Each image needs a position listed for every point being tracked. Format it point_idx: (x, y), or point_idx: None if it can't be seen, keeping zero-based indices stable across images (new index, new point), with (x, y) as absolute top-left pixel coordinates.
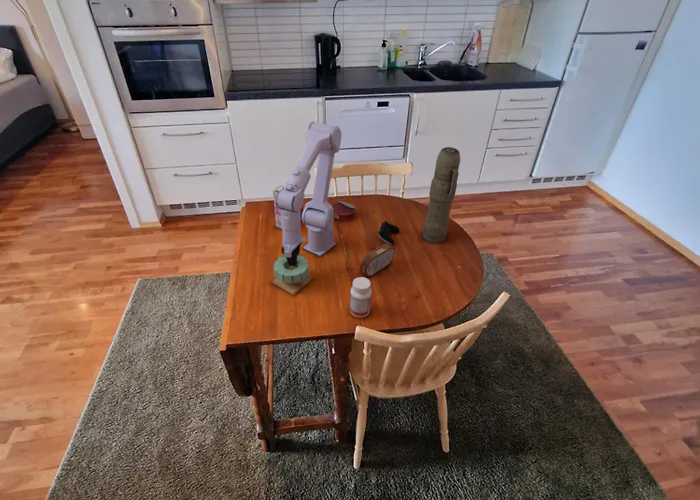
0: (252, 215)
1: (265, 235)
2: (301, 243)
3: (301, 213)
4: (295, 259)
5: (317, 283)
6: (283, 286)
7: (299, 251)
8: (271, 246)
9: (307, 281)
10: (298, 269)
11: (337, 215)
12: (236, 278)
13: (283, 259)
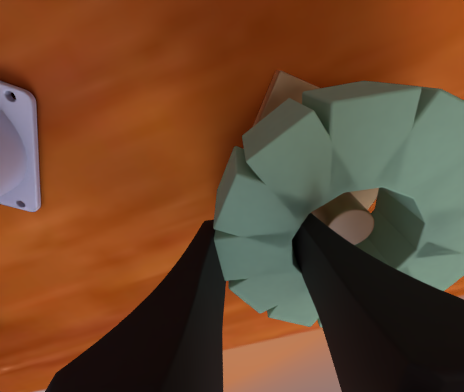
0: (7, 386)
1: (69, 338)
2: (174, 360)
3: None
4: (353, 252)
5: (303, 15)
6: (373, 198)
7: None
8: (112, 308)
9: (317, 87)
10: (433, 173)
11: None
12: (310, 329)
13: (295, 300)
